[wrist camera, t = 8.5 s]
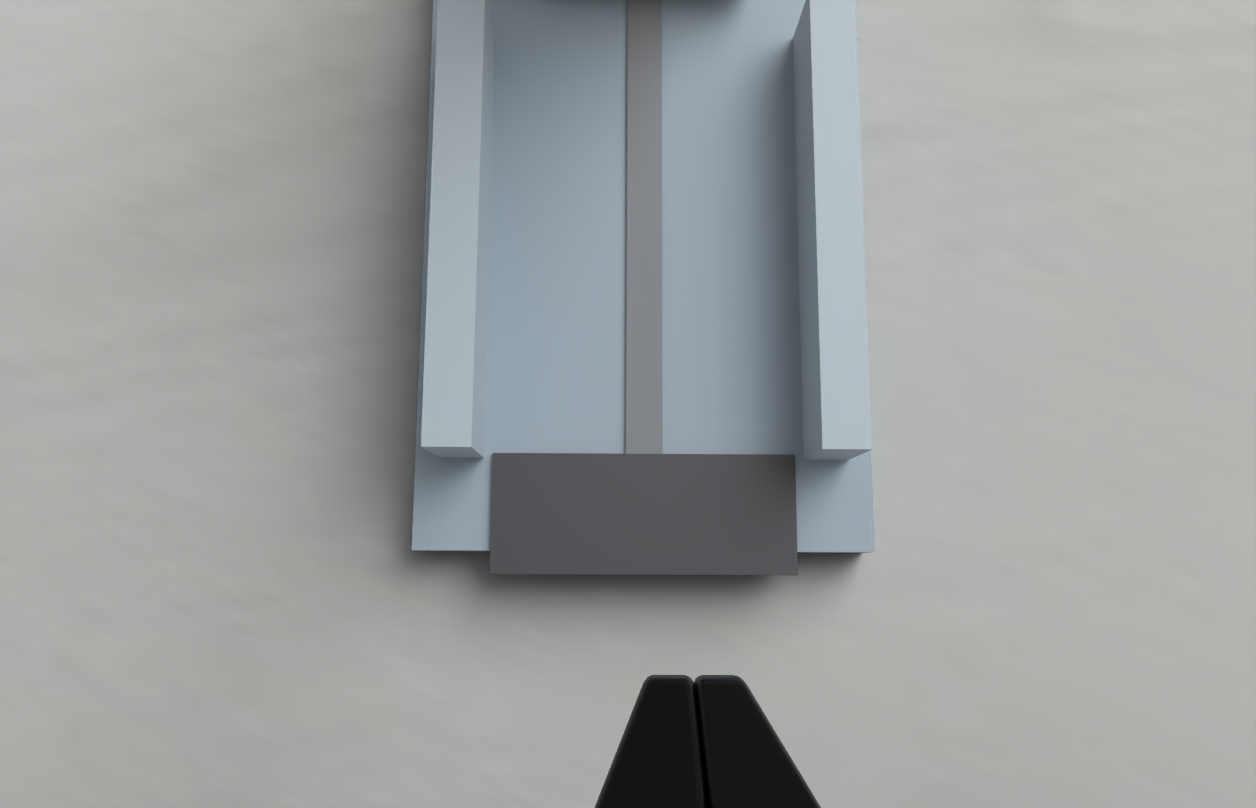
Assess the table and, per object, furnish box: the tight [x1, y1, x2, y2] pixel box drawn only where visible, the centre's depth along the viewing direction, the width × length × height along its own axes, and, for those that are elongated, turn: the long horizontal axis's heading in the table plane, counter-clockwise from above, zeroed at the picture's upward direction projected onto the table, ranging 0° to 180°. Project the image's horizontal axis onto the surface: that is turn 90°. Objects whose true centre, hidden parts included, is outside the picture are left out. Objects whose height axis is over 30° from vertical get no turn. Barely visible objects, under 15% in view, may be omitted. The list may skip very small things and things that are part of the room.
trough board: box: [412, 0, 875, 575], centre depth 22 cm, size 18×10×3 cm, turn 0°
